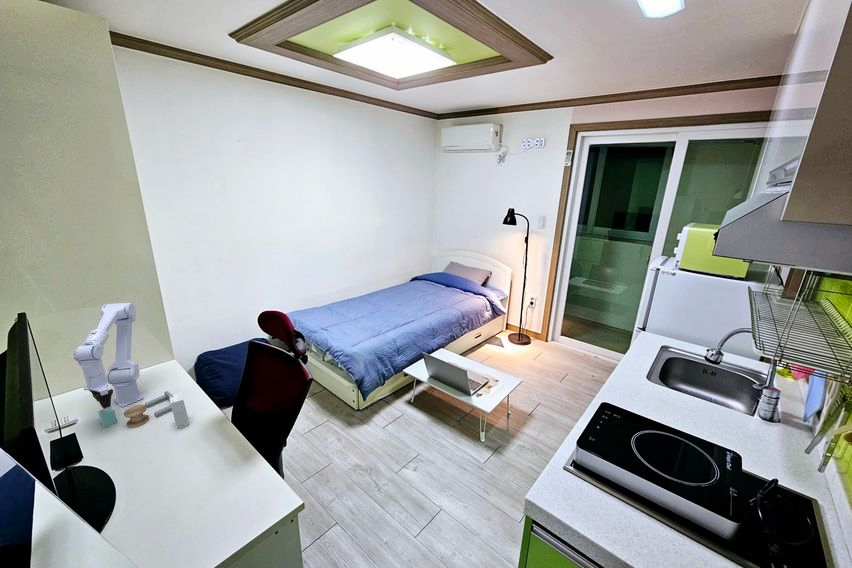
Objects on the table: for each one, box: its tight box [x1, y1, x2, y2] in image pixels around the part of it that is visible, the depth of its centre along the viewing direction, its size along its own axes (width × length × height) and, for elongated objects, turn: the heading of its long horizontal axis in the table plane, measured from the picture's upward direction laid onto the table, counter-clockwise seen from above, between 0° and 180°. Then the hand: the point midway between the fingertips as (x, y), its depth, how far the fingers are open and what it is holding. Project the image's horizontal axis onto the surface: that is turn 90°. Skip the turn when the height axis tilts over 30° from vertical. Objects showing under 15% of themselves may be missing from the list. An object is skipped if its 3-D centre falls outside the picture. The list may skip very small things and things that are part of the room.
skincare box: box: [169, 392, 190, 429], centre depth 138 cm, size 6×4×12 cm
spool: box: [123, 404, 150, 428], centre depth 139 cm, size 7×7×6 cm
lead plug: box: [97, 406, 118, 429], centre depth 137 cm, size 4×4×7 cm
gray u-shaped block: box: [144, 390, 174, 418], centre depth 148 cm, size 12×9×3 cm
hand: (103, 403), depth 135 cm, fingers open, 7 cm apart
